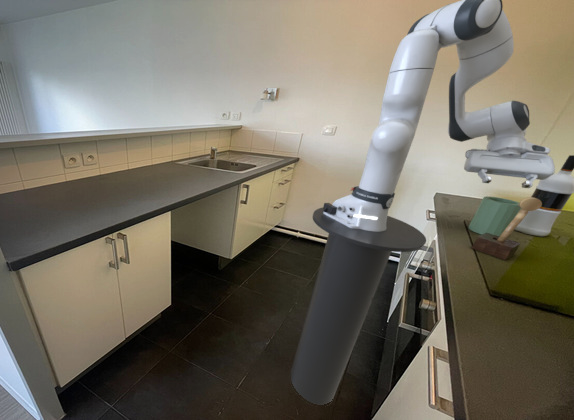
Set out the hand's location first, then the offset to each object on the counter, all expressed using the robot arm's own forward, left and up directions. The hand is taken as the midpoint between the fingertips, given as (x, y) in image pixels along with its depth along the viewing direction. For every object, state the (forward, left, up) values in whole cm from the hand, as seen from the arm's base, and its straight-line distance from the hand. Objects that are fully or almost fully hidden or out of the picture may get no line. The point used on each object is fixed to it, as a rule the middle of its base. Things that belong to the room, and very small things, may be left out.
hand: (506, 184), depth 81 cm
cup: (-1, +11, -20) cm, 23 cm away
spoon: (+6, -9, -20) cm, 23 cm away
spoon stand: (+6, -9, -20) cm, 23 cm away
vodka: (+6, +29, -21) cm, 36 cm away
